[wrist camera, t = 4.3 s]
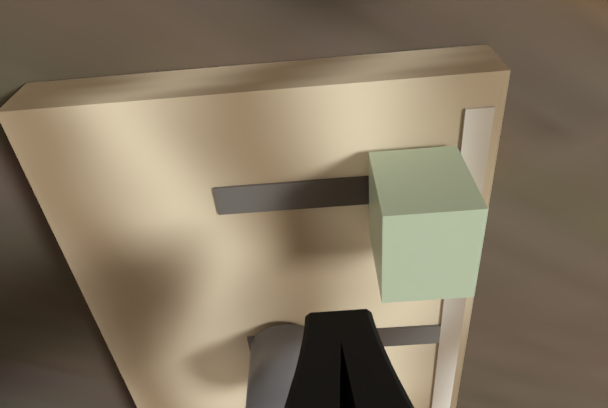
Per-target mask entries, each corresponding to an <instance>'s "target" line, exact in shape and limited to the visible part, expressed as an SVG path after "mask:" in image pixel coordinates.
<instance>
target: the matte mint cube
mask: <svg viewBox="0 0 608 408" xmlns="http://www.w3.org/2000/svg"><path fill="white" fill-rule="evenodd" d="M487 215H488V207H487V205H486V203H485V201H484V199H483V197H482V195H481V193H480V191H479V189H478V187H477V185H476V183H475V181H474V179H473V177H472V175H471V173H470V171H469V169H468V167H467V165H466V163H465V161H464V159H463V157H462V155H461V153H460V151H459V149H458V147H457V145H456V146H443V147H430V148H417V149H404V150H391V151H378V152H369V235H370V240H371V246H372V251H373V257H374V263H375V268H376V274H377V280H378V285H379V291H380V296H381V302H382V303H390V302H406V301H421V300H436V299H452V298H467V297H474V295H475V288H476V282H477V276H478V270H479V264H480V258H481V252H482V245H483V239H484V233H485V227H486V221H487Z"/></svg>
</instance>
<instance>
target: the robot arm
mask: <svg viewBox="0 0 608 408" xmlns="http://www.w3.org/2000/svg"><path fill="white" fill-rule="evenodd" d="M284 408H414V406H413V404H412V402H411V400H410V399H409V397H408V395H407V393H406V391H405V389H404V387H403V385H402V384H401V382H400V380H399V378H398V376H397V374H396V372H395V370H394V368H393V366H392V364H391V361H390V359H389V357H388V355H387V353H386V350H385V348H384V346H383V343H382V341H381V339H380V336H379V333H378V331H377V328H376V325H375V322H374V319H373V315H372V312H370V311H369V310H368V309H356V310H341V311H327V312H312V313H309V314H308V315H306V316H305V324H304V332H303V339H302V344H301V349H300V354H299V358H298V362H297V366H296V370H295V373H294V377H293V380H292V383H291V387H290V390H289V393H288V397H287V400H286V403H285V406H284Z"/></svg>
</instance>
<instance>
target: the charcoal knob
mask: <svg viewBox="0 0 608 408" xmlns="http://www.w3.org/2000/svg"><path fill="white" fill-rule="evenodd" d="M303 332H304V327H302V326H298V325H290V324H283V325H276V326H272V327H269V328H266V329H264V330H262V331H261V332H259V333H258V334H257V335H256V336H255V337H254V339H253V340H252V343H251V350H250V361H249V373H248V384H247V396H246V407H245V408H284V406H285V403H286V400H287V397H288V393H289V390H290V387H291V383H292V380H293V377H294V373H295V370H296V366H297V362H298V358H299V354H300V349H301V344H302V339H303Z"/></svg>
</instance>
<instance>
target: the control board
mask: <svg viewBox="0 0 608 408" xmlns="http://www.w3.org/2000/svg"><path fill="white" fill-rule="evenodd" d="M510 71H511V70H510V69H509V68H508V67H507V65H506V64H505V63H504V62H503V61H502V60H501V59H500V57H499V56H498V55H497V54H496V53H495V52H494V51H493V49H492V48H491V47H490V46H489V45H488V44H486V45H474V46H462V47H450V48H438V49H426V50H414V51H402V52H390V53H378V54H366V55H354V56H342V57H331V58H319V59H307V60H295V61H283V62H271V63H259V64H247V65H235V66H223V67H211V68H199V69H187V70H175V71H163V72H152V73H140V74H128V75H116V76H104V77H92V78H80V79H68V80H56V81H44V82H32V83H26V84H25V85H24V86H23V87H21V88H20V89H19V90H18V91H17V92H16V93H15V94H14V95H13V96H12V97H11V98H10V99H9V100H8V101H7V102H6V103H5V104H4V105H3V106H2V107H1V108H0V123H1V125H2V127H3V129H4V131H5V133H6V135H7V137H8V139H9V142H10V144H11V146H12V148H13V150H14V152H15V154H16V156H17V158H18V160H19V162H20V164H21V167H22V169H23V171H24V173H25V175H26V177H27V179H28V181H29V183H30V185H31V187H32V189H33V192H34V194H35V196H36V198H37V200H38V202H39V204H40V206H41V208H42V210H43V212H44V214H45V217H46V219H47V221H48V223H49V225H50V227H51V229H52V231H53V233H54V235H55V237H56V240H57V242H58V244H59V246H60V248H61V250H62V252H63V254H64V256H65V258H66V260H67V262H68V265H69V267H70V269H71V271H72V273H73V275H74V277H75V279H76V281H77V283H78V285H79V287H80V290H81V292H82V294H83V296H84V298H85V300H86V302H87V304H88V306H89V308H90V310H91V312H92V315H93V317H94V319H95V321H96V323H97V325H98V327H99V329H100V331H101V333H102V335H103V337H104V340H105V342H106V344H107V346H108V348H109V350H110V352H111V354H112V356H113V358H114V360H115V362H116V365H117V367H118V369H119V371H120V373H121V375H122V377H123V379H124V381H125V383H126V385H127V388H128V390H129V392H130V394H131V396H132V398H133V400H134V402H135V404H136V406H137V408H245V407H246V396H247V384H248V373H249V361H250V350H251V343H252V340H253V339H254V337H255V336H256V335H257V334H258V333H259V332H261V331H262V330H264V329H266V328H269V327H272V326H276V325H283V324H290V325H298V326H302V327H304V324H305V316H306V315H308V314H309V313H312V312H327V311H341V310H356V309H368V310H369V311H370V312H372V315H373V319H374V322H375V325H376V328H377V331H378V333H379V336H380V339H381V341H382V343H383V346H384V348H385V350H386V353H387V355H388V357H389V359H390V361H391V364H392V366H393V368H394V370H395V372H396V374H397V376H398V378H399V380H400V382H401V384H402V385H403V387H404V389H405V391H406V393H407V395H408V397H409V399H410V400H411V402H412V404H413V406H414V408H456V404H457V397H458V391H459V385H460V379H461V373H462V367H463V361H464V354H465V348H466V342H467V336H468V330H469V324H470V317H471V311H472V305H473V299H474V297H467V298H452V299H436V300H421V301H406V302H390V303H382V302H381V296H380V291H379V285H378V280H377V274H376V268H375V263H374V257H373V251H372V246H371V240H370V235H369V152H378V151H391V150H404V149H417V148H430V147H443V146H456V145H457V147H458V149H459V151H460V153H461V155H462V157H463V159H464V161H465V163H466V165H467V167H468V169H469V171H470V173H471V175H472V177H473V179H474V181H475V183H476V185H477V187H478V189H479V191H480V193H481V195H482V197H483V199H484V201H485V203H486V205H487V207H489V200H490V194H491V188H492V182H493V176H494V170H495V164H496V157H497V151H498V145H499V139H500V133H501V127H502V120H503V114H504V108H505V102H506V96H507V90H508V84H509V77H510Z"/></svg>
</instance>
